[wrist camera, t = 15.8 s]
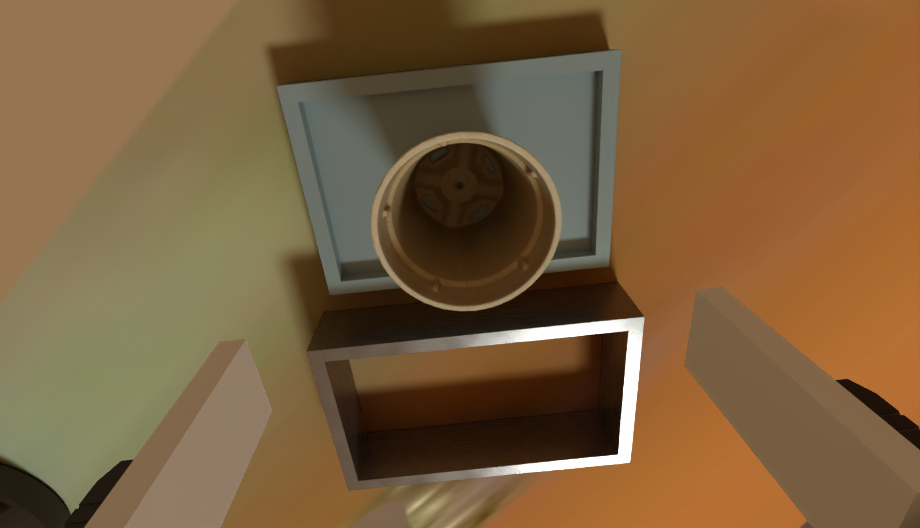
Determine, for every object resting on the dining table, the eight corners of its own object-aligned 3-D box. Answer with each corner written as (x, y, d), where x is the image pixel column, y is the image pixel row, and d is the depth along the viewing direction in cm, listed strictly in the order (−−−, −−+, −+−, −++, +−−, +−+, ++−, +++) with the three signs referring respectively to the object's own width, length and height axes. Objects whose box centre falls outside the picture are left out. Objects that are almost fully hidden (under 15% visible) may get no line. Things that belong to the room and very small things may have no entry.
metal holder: (358, 442, 41) (348, 490, 37) (323, 312, 35) (306, 351, 31) (608, 416, 41) (629, 462, 37) (618, 282, 35) (644, 316, 30)
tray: (335, 282, 34) (329, 295, 32) (286, 83, 28) (276, 86, 26) (600, 254, 34) (609, 266, 32) (609, 49, 28) (621, 49, 26)
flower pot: (435, 76, 27) (433, 88, 19) (558, 158, 30) (601, 199, 22) (363, 204, 30) (337, 259, 23) (480, 268, 33) (492, 338, 25)
